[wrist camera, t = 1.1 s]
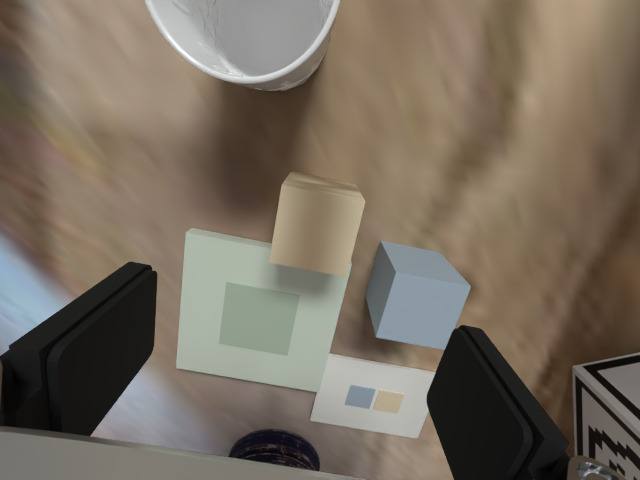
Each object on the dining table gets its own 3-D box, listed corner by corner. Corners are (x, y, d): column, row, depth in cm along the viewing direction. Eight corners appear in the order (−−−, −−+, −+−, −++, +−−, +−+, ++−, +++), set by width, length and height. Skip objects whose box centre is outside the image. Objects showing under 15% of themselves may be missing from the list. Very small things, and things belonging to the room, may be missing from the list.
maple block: (355, 184, 25) (365, 201, 19) (341, 244, 27) (346, 277, 21) (291, 171, 25) (281, 184, 19) (280, 232, 26) (268, 262, 21)
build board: (350, 258, 27) (351, 265, 26) (319, 382, 31) (318, 393, 30) (191, 227, 26) (185, 232, 25) (181, 359, 30) (175, 368, 29)
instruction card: (441, 373, 31) (443, 376, 30) (416, 435, 33) (417, 439, 33) (326, 352, 30) (326, 355, 30) (310, 418, 33) (309, 421, 32)
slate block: (440, 252, 27) (471, 286, 21) (421, 305, 28) (445, 350, 23) (380, 240, 26) (396, 272, 21) (365, 294, 28) (375, 337, 22)
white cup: (313, 117, 23) (305, 111, 14) (204, 76, 23) (119, 41, 13) (353, -8, 21) (377, -118, 11) (233, -58, 20) (153, -220, 11)
